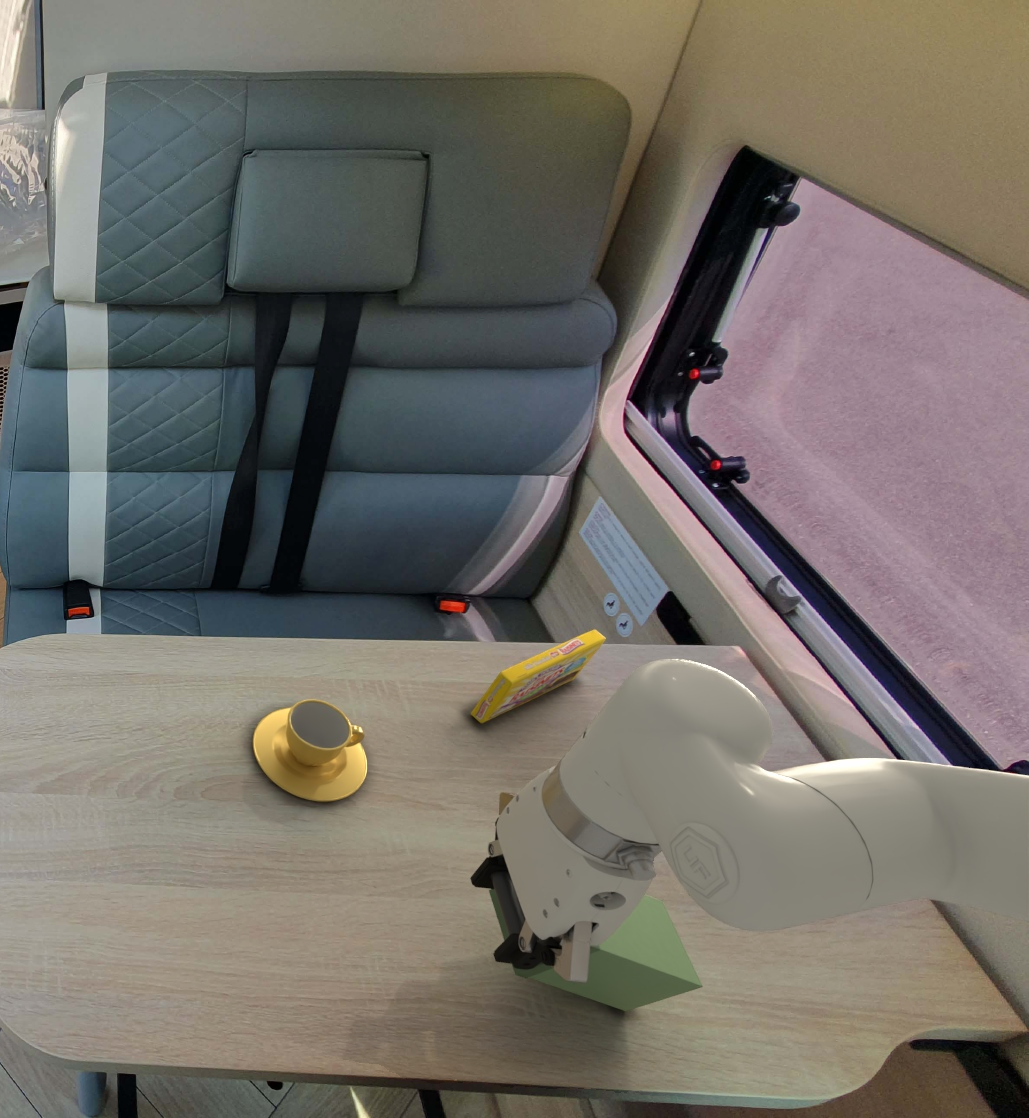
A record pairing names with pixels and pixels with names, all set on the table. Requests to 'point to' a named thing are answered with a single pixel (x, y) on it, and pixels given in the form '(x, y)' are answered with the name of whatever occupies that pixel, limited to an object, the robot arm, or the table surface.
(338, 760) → the cup
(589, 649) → the candy box
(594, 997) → the lunchbox
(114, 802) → the table surface
